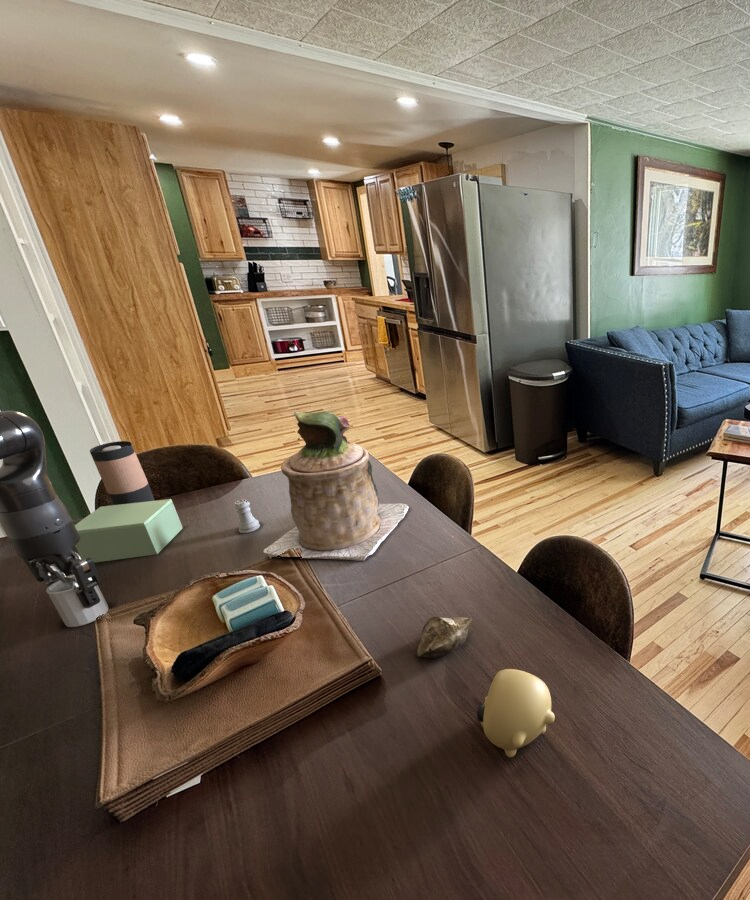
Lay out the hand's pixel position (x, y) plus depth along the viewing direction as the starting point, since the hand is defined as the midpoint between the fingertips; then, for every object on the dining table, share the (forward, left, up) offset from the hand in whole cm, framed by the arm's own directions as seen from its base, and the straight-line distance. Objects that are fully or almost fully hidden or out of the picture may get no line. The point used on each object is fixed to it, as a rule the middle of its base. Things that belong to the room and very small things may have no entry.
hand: (79, 601), depth 89 cm
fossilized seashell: (+66, -26, -4) cm, 71 cm away
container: (-5, +26, -4) cm, 27 cm away
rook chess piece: (+18, +27, -4) cm, 33 cm away
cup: (0, 0, -4) cm, 4 cm away
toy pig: (+76, -46, -4) cm, 89 cm away
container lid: (-5, +26, +4) cm, 27 cm away
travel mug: (-12, +42, -4) cm, 44 cm away
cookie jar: (+41, +19, -4) cm, 45 cm away
